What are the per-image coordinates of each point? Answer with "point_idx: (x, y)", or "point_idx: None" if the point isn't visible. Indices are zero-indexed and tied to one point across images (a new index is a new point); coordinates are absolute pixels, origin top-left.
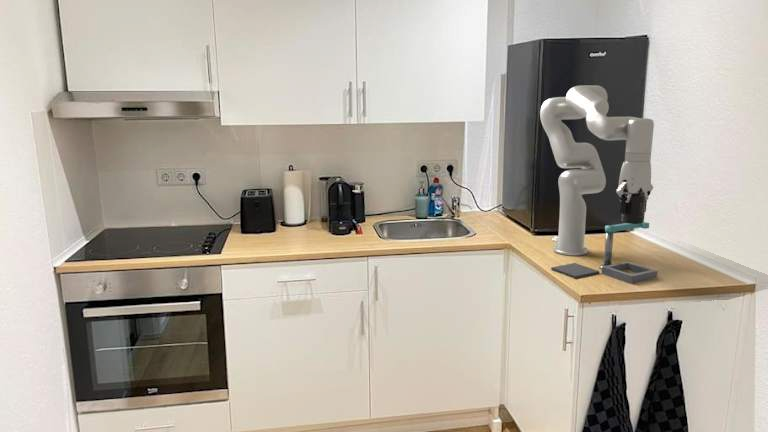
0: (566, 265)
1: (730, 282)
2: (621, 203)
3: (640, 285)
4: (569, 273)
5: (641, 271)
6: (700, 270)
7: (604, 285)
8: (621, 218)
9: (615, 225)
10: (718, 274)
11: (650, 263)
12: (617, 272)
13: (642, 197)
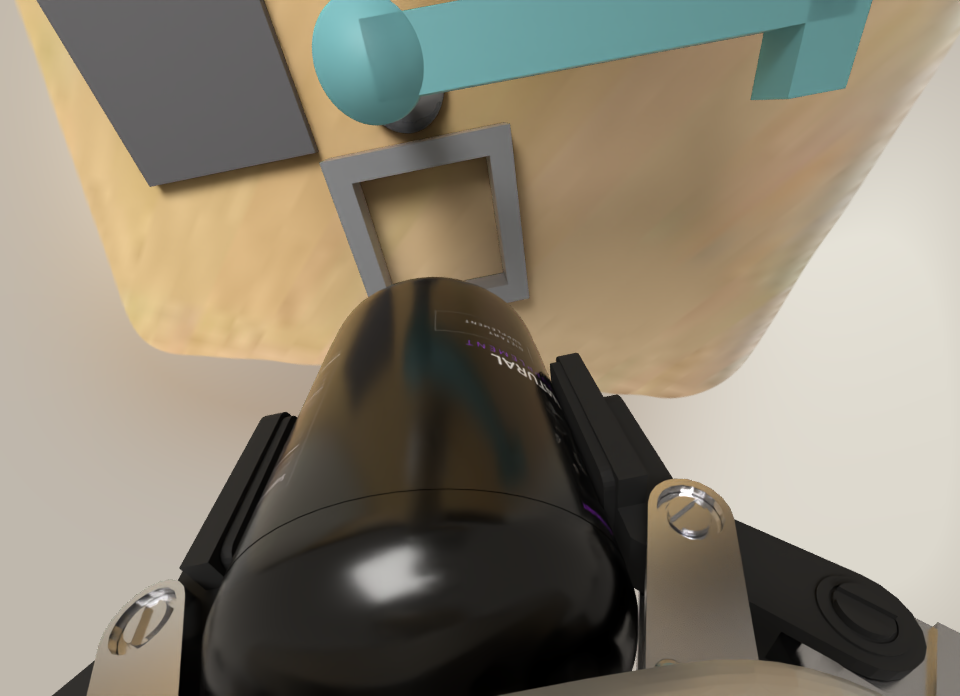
0: None
1: (690, 378)
2: (209, 531)
3: None
4: (125, 132)
5: (499, 237)
6: (747, 259)
7: (268, 300)
8: (339, 329)
9: (454, 44)
10: (746, 313)
11: (679, 89)
12: (355, 259)
13: None
